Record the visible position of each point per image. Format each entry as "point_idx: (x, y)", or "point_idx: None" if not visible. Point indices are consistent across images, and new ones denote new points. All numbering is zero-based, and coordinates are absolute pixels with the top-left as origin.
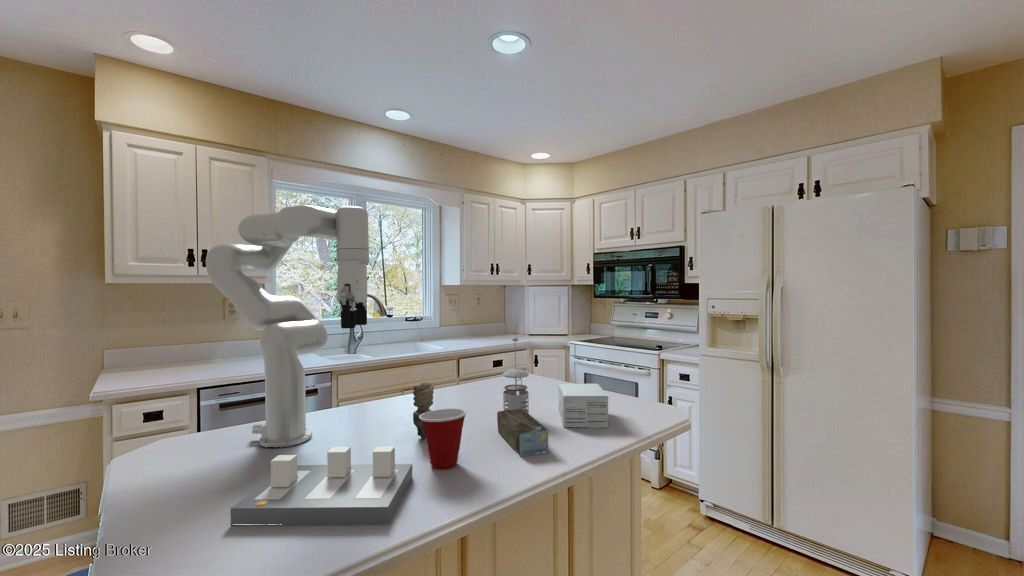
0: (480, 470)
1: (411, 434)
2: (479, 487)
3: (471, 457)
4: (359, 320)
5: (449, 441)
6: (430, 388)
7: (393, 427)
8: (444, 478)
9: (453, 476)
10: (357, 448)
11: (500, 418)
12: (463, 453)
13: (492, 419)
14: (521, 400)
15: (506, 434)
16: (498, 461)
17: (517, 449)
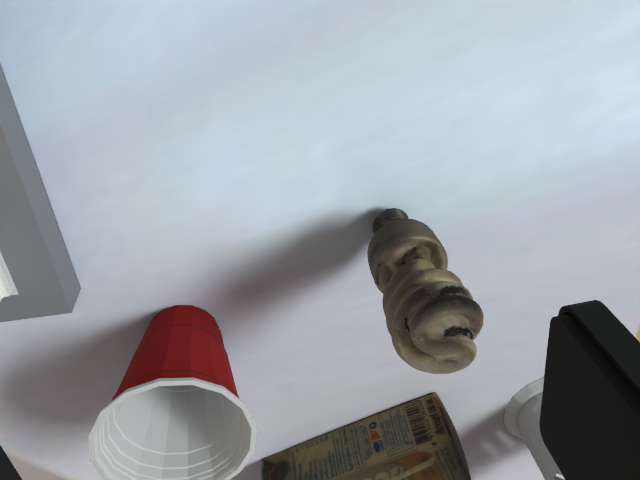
0: None
1: (432, 166)
2: (76, 425)
3: (243, 375)
4: (577, 419)
5: (136, 413)
6: (417, 368)
7: (521, 68)
8: (101, 354)
9: (118, 368)
10: (282, 20)
11: (412, 443)
12: (269, 352)
13: None
14: (544, 477)
15: (351, 441)
16: None
17: (278, 461)
